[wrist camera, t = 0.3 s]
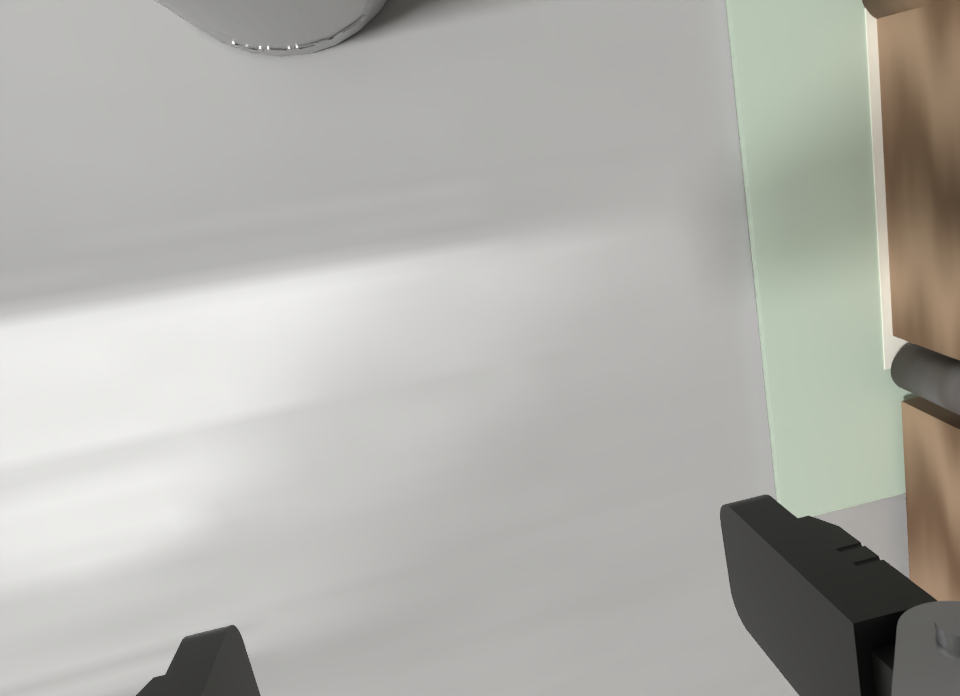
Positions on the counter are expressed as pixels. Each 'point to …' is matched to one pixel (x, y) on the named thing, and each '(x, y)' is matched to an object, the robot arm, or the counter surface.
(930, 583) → the hinged fence panel
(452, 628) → the counter surface
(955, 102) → the fixed fence section
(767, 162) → the card
